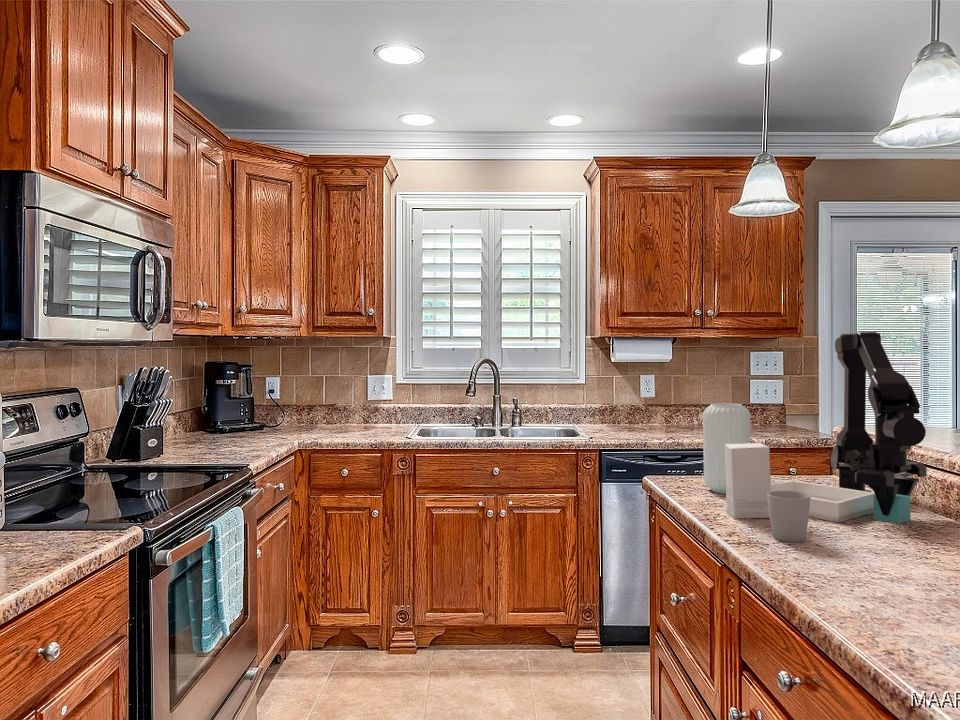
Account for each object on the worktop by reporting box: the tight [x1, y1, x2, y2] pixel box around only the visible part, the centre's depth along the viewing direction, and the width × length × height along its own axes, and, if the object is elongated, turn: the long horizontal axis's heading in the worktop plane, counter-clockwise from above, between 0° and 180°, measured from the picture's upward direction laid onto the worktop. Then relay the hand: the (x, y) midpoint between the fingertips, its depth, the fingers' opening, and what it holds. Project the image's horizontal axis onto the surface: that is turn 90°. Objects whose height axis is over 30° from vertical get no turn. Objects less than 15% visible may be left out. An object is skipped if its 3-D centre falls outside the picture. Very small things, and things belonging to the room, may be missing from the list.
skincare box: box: [725, 442, 771, 520], centre depth 150 cm, size 8×7×16 cm
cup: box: [767, 491, 810, 543], centre depth 132 cm, size 8×10×8 cm
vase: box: [702, 403, 752, 495], centre depth 176 cm, size 12×12×22 cm
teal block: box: [873, 494, 911, 524], centre depth 144 cm, size 5×5×5 cm
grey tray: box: [771, 479, 875, 523], centre depth 155 cm, size 16×20×4 cm
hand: (891, 513), depth 144 cm, fingers closed on teal block, 5 cm apart
